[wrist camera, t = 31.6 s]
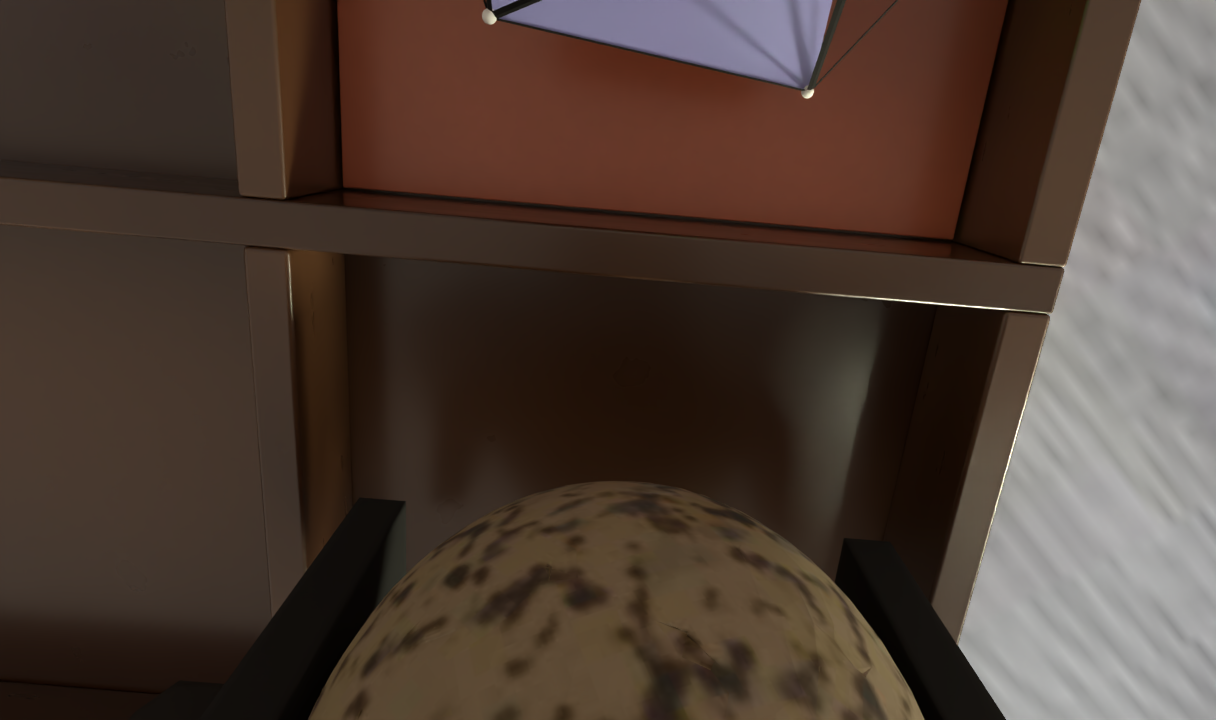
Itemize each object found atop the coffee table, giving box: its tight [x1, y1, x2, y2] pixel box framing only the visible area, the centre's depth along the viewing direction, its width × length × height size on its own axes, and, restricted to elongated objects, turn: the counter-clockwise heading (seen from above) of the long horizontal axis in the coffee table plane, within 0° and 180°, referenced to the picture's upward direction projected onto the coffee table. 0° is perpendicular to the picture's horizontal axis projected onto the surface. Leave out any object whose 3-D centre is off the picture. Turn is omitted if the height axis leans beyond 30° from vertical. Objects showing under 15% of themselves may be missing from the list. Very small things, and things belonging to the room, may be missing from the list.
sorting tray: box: [0, 0, 1141, 720], centre depth 11 cm, size 23×23×3 cm
